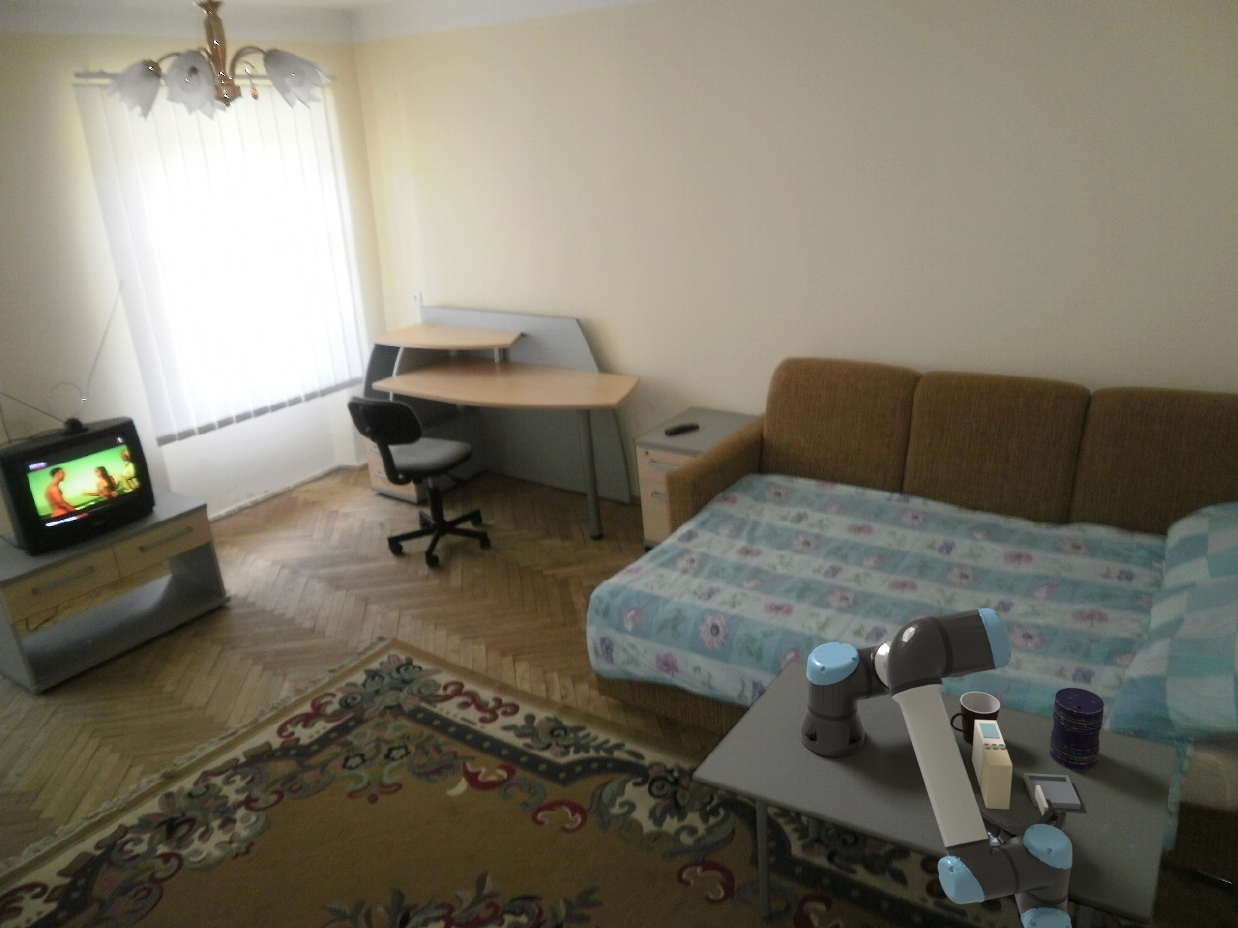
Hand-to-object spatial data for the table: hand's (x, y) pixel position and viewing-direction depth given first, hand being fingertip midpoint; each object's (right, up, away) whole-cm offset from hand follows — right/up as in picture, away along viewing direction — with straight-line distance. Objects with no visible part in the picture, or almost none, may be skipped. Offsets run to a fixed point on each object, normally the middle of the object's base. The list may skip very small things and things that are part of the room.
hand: (1002, 788), depth 185 cm
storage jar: (+23, +1, +17) cm, 29 cm away
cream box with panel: (+2, -2, +13) cm, 14 cm away
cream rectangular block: (+1, -5, +6) cm, 7 cm away
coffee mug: (+4, +2, +25) cm, 26 cm away
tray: (+13, -3, +6) cm, 15 cm away
